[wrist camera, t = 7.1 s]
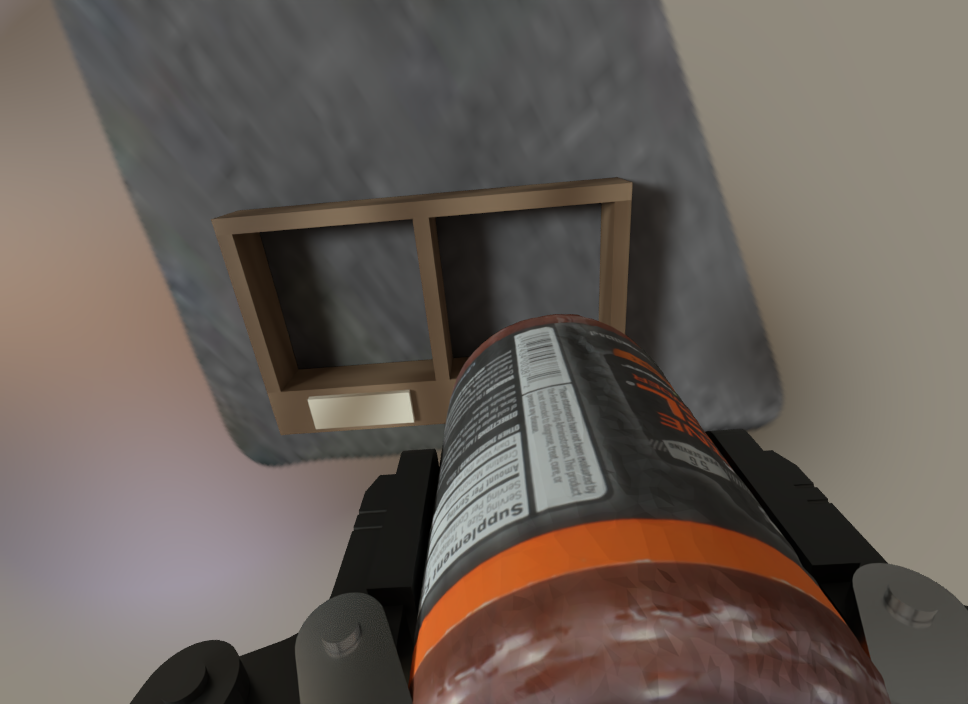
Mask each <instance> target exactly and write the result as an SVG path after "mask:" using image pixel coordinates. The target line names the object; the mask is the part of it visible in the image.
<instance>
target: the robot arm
mask: <svg viewBox="0 0 968 704" xmlns="http://www.w3.org/2000/svg"><path fill="white" fill-rule="evenodd" d="M705 433H706V434H707V436H708V437H709V438H710V440H711V441H712V443H713V444H714V445H715V446H716V447H717V448H718V450H719V452H720V453H721V454H722V456H723V457H724V458H725V460H726V461H727V462H728V464H729V465H730V467H731V468H732V469H733V471H734V472H735V473H736V474H737V475H738V476H739V478H740V479H741V480H742V481H743V483H744V484H745V485H746V487H747V488H748V489H749V491H750V492H751V493H752V495H753V496H754V497H755V499H756V500H757V502H758V503H759V504H760V506H761V507H762V508H763V510H764V511H765V513H766V514H767V516H768V517H769V519H770V520H771V522H772V523H773V524H774V525H775V526H776V527H777V528H778V530H779V531H780V532H781V534H782V535H783V536H784V538H785V539H786V540H787V541H788V542H789V544H790V545H791V546H792V548H793V549H794V551H795V553H796V554H797V556H798V558H799V561H800V563H801V564H802V566H803V568H804V569H805V570H806V571H807V572H808V573H809V574H810V575H811V576H812V577H813V578H814V579H815V580H816V582H817V583H818V585H819V587H820V589H821V590H822V592H823V593H824V595H825V596H826V597H827V599H828V600H829V601H830V603H831V604H832V605H833V607H834V608H835V609H836V610H837V612H838V613H839V614H840V616H841V617H842V618H843V620H844V621H845V623H846V624H847V626H848V627H849V628H850V630H851V631H852V633H853V634H854V636H855V637H856V639H857V640H858V642H859V643H860V645H861V647H862V649H863V650H864V651H865V653H866V654H867V655H868V657H869V658H870V660H871V661H872V662H873V664H874V665H875V666H876V668H877V669H878V671H879V672H880V673H881V675H882V677H883V679H884V682H885V687H886V691H887V693H888V695H889V698H890V702H891V704H968V606H965V605H963V604H962V603H961V602H960V601H959V600H958V599H957V598H956V597H955V596H954V595H953V594H952V593H950V592H949V591H948V590H947V589H945V588H944V587H943V586H941V585H940V584H938V583H937V582H935V581H933V580H932V579H930V578H928V577H926V576H924V575H922V574H920V573H918V572H915V571H913V570H910V569H907V568H904V567H901V566H897V565H892V564H888V563H887V562H886V561H885V560H884V559H883V557H882V556H881V555H880V554H879V553H878V552H877V551H876V550H875V549H874V548H873V547H872V546H871V545H870V544H869V543H868V542H867V540H866V539H865V538H864V537H863V536H862V535H861V534H860V533H859V532H858V531H857V530H856V529H855V527H853V525H852V524H851V523H850V522H849V521H848V520H847V519H846V518H845V517H844V516H843V515H842V514H841V513H840V511H839V510H838V509H837V508H836V507H835V506H834V505H833V504H832V503H829V502H828V498H827V497H825V495H824V494H823V493H822V492H821V491H820V490H819V489H818V488H817V487H814V484H813V482H812V481H811V480H810V479H809V478H808V477H807V476H806V475H805V474H804V473H803V472H802V471H801V470H800V469H799V467H798V466H797V465H795V464H794V463H792V462H790V461H789V460H787V459H785V458H783V457H782V456H780V455H779V454H777V453H775V452H774V451H772V450H771V451H763V450H762V448H760V446H759V445H758V444H757V443H756V442H755V440H754V439H753V438H752V437H751V436H750V435H749V434H748V433H747V432H746V431H745V430H743V429H731V430H716V431H706V432H705ZM438 474H439V463H438V457H437V452H436V450H435V449H423V450H408V451H403V452H402V453H401V457H400V461H399V465H398V468H397V472H396V474H392V475H380V476H379V477H378V478H377V479H376V480H375V481H374V483H373V484H372V485H371V486H370V487H369V488H368V490H367V491H366V492H365V494H364V498H363V500H362V503H361V507H360V509H359V515H358V516H357V519H356V522H355V525H354V531H352V534H351V537H350V540H349V543H348V546H347V549H346V552H345V555H344V558H343V561H342V564H341V567H340V570H339V573H338V577H337V579H336V582H335V585H334V588H333V591H332V594H331V596H330V599H329V600H327V601H326V602H324V603H323V604H321V605H320V606H319V607H318V608H316V609H315V610H314V611H313V612H312V613H311V614H310V616H308V618H307V619H306V621H305V622H304V623H303V625H302V627H301V629H300V631H299V633H297V634H295V635H293V636H291V637H290V638H287V639H285V640H283V641H281V642H278V643H275V644H272V645H269V646H267V647H264V648H261V649H258V650H256V651H253V652H250V653H247V654H245V655H242V656H239V655H238V653H237V652H236V650H235V649H234V647H233V646H231V644H229V643H227V642H225V641H220V640H209V641H203V642H200V643H196V644H194V645H191V646H189V647H187V648H185V649H183V650H181V651H180V652H178V653H176V654H175V655H173V656H172V657H171V658H169V659H168V660H167V661H166V662H164V663H163V664H162V665H161V666H160V667H159V668H158V669H157V670H156V671H155V672H154V673H153V674H152V675H151V676H150V677H149V679H148V680H147V681H146V683H145V684H144V685H143V686H142V688H141V689H140V690H139V692H138V693H137V694H136V696H135V697H134V698H133V700H132V701H131V703H130V704H413V702H412V699H411V696H410V692H409V689H408V683H409V677H410V669H411V662H412V655H413V651H414V633H415V628H416V622H417V616H418V608H419V600H420V593H421V587H422V582H423V572H424V566H425V560H426V554H427V545H428V538H429V534H430V529H431V523H432V513H433V506H434V499H435V494H436V489H437V478H438Z"/></svg>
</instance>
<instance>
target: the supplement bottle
mask: <svg viewBox="0 0 968 704" xmlns="http://www.w3.org/2000/svg"><path fill="white" fill-rule="evenodd" d="M408 689H409V692H410V696H411V699H412V702H413V704H891V702H890V698H889V695H888V693H887V691H886V687H885V682H884V679H883V677H882V675H881V673H880V672H879V671H878V669H877V668H876V666H875V665H874V664H873V662H872V661H871V660H870V658H869V657H868V655H867V654H866V653H865V651H864V650H863V649H862V647H861V645H860V643H859V642H858V640H857V639H856V637H855V636H854V634H853V633H852V631H851V630H850V628H849V627H848V626H847V624H846V623H845V621H844V620H843V618H842V617H841V616H840V614H839V613H838V612H837V610H836V609H835V608H834V607H833V605H832V604H831V603H830V601H829V600H828V599H827V597H826V596H825V595H824V593H823V592H822V590H821V589H820V587H819V585H818V583H817V582H816V580H815V579H814V578H813V577H812V576H811V575H810V574H809V573H808V572H807V571H806V570H805V569H804V568H803V566H802V564H801V563H800V561H799V558H798V556H797V554H796V553H795V551H794V549H793V548H792V546H791V545H790V544H789V542H788V541H787V540H786V539H785V538H784V536H783V535H782V534H781V532H780V531H779V530H778V528H777V527H776V526H775V525H774V524H773V523H772V522H771V520H770V519H769V517H768V516H767V514H766V513H765V511H764V510H763V508H762V507H761V506H760V504H759V503H758V502H757V500H756V499H755V497H754V496H753V495H752V493H751V492H750V491H749V489H748V488H747V487H746V485H745V484H744V483H743V481H742V480H741V479H740V478H739V476H738V475H737V474H736V473H735V472H734V471H733V469H732V468H731V467H730V465H729V464H728V462H727V461H726V460H725V458H724V457H723V456H722V454H721V453H720V452H719V450H718V448H717V447H716V446H715V445H714V444H713V443H712V441H711V440H710V438H709V437H708V436H707V434H706V433H705V432H704V430H703V429H702V428H701V426H700V425H699V423H698V421H697V420H696V419H695V417H694V416H693V414H692V412H691V411H690V409H689V408H688V407H687V406H686V405H685V404H684V403H683V401H682V400H681V398H680V397H679V396H678V394H677V393H676V392H675V391H674V389H673V388H672V386H671V384H670V383H669V382H668V380H667V379H666V377H665V376H664V374H663V372H662V371H661V370H660V369H659V367H658V366H657V365H656V364H655V363H654V361H653V360H652V359H651V358H650V357H649V356H648V355H647V354H646V352H645V351H644V350H642V349H641V348H640V347H639V346H638V345H637V344H636V343H635V342H634V341H632V340H631V339H630V338H629V337H628V336H626V335H625V334H623V333H622V332H620V331H619V330H617V329H615V328H613V327H611V326H609V325H607V324H604V323H602V322H600V321H597V320H594V319H590V318H585V317H581V316H579V315H573V314H568V315H563V314H554V315H547V316H542V317H537V318H532V319H528V320H523V321H520V322H518V323H515V324H513V325H510V326H508V327H506V328H504V329H502V330H500V331H499V332H497V333H496V334H494V335H492V336H491V337H490V338H489V339H487V340H486V341H485V342H484V343H483V344H481V345H480V346H479V347H478V348H477V349H476V350H475V351H474V352H473V354H472V355H471V356H470V357H469V359H468V360H467V361H466V362H465V364H464V365H463V367H462V369H461V371H460V373H459V375H458V377H457V379H456V382H455V385H454V387H453V392H452V395H451V398H450V403H449V408H448V412H447V418H446V427H445V433H444V441H443V446H442V452H441V460H440V466H439V474H438V478H437V489H436V494H435V499H434V506H433V513H432V523H431V529H430V534H429V538H428V545H427V554H426V560H425V566H424V572H423V582H422V587H421V593H420V600H419V608H418V616H417V622H416V628H415V633H414V651H413V655H412V662H411V669H410V677H409V683H408Z"/></svg>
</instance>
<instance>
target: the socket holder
mask: <svg viewBox="0 0 968 704" xmlns="http://www.w3.org/2000/svg"><path fill="white" fill-rule="evenodd" d="M631 202H632V182H629V181H626V180H623V179H621V178H618V177H615V178H604V179H592V180H581V181H570V182H558V183H547V184H535V185H524V186H513V187H501V188H490V189H478V190H467V191H456V192H444V193H433V194H422V195H410V196H399V197H387V198H376V199H365V200H353V201H342V202H330V203H319V204H308V205H296V206H285V207H274V208H262V209H251V210H239V211H236V212H233V213H229V214H226V215H223V216H220V217H217V218H214V219H211V221H212V224H213V227H214V230H215V233H216V236H217V240H218V243H219V246H220V249H221V252H222V255H223V258H224V261H225V264H226V267H227V270H228V273H229V277H230V280H231V283H232V286H233V289H234V292H235V295H236V298H237V301H238V304H239V307H240V310H241V313H242V317H243V320H244V323H245V326H246V329H247V332H248V335H249V338H250V341H251V344H252V347H253V350H254V353H255V357H256V360H257V363H258V366H259V369H260V372H261V375H262V378H263V381H264V384H265V387H266V390H267V394H268V397H269V400H270V403H271V406H272V409H273V412H274V415H275V418H276V421H277V424H278V427H279V430H280V434H281V435H287V434H301V433H316V432H330V431H344V430H359V429H373V428H388V427H402V426H416V425H431V424H445V423H446V418H447V412H448V408H449V403H450V398H451V395H452V392H453V387H454V385H455V382H456V379H457V377H458V375H459V373H460V371H461V369H462V367H463V365H464V364H465V362H466V361H467V360H468V359H469V357H459V358H453V356H452V348H451V340H450V332H449V324H448V316H447V308H446V300H445V292H444V283H443V275H442V267H441V259H440V251H439V243H438V235H437V227H436V219H435V217H440V216H452V215H463V214H475V213H487V212H498V211H510V210H522V209H533V208H545V207H556V206H568V205H580V204H591V203H602V204H601V248H600V292H599V321H600V322H602V323H604V324H607V325H609V326H611V327H613V328H615V329H617V330H619V331H620V332H622V333H623V334H625V324H626V304H627V283H628V263H629V243H630V222H631ZM405 219H413V226H414V233H415V240H416V247H417V254H418V260H419V267H420V274H421V281H422V288H423V295H424V302H425V309H426V316H427V322H428V329H429V336H430V343H431V350H432V357H433V359H432V360H419V361H406V362H392V363H379V364H365V365H352V366H339V367H325V368H312V369H298V367H297V363H296V360H295V356H294V352H293V349H292V345H291V342H290V338H289V335H288V331H287V328H286V324H285V321H284V317H283V314H282V310H281V307H280V303H279V300H278V296H277V293H276V289H275V286H274V282H273V279H272V275H271V272H270V268H269V265H268V261H267V258H266V254H265V251H264V247H263V244H262V240H261V237H260V233H259V232H266V231H277V230H289V229H300V228H312V227H324V226H335V225H347V224H359V223H370V222H382V221H394V220H405Z"/></svg>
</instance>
